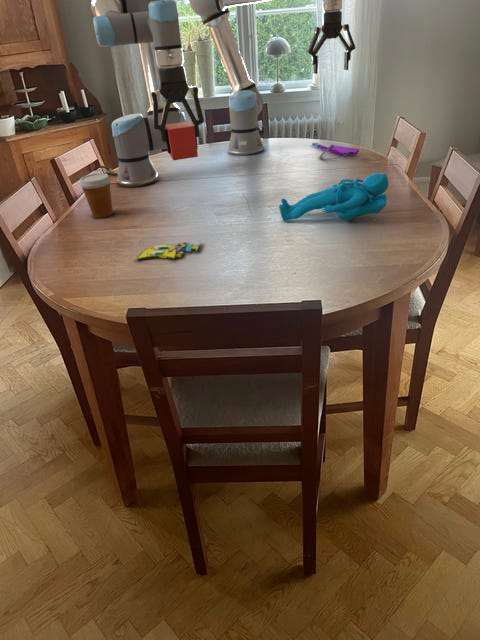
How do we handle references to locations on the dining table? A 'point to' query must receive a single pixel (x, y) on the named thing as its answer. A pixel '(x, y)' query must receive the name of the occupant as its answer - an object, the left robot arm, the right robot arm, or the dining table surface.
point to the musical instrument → (337, 150)
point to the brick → (182, 140)
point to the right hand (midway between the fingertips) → (330, 71)
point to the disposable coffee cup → (98, 194)
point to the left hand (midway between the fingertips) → (182, 150)
